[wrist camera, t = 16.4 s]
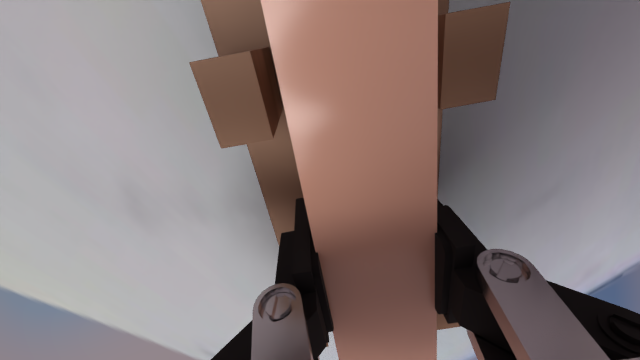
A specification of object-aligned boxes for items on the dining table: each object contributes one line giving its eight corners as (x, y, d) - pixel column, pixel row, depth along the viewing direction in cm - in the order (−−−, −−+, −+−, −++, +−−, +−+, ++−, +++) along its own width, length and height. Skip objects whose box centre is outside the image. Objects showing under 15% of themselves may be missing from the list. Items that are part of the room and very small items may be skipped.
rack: (205, -11, 10) (128, -49, 6) (439, -57, 10) (550, -136, 5) (299, 296, 19) (298, 375, 14) (425, 276, 18) (464, 351, 14)
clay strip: (280, 22, 9) (256, -18, 5) (379, 3, 9) (438, -54, 5) (342, 333, 15) (354, 430, 11) (401, 324, 15) (436, 419, 11)
